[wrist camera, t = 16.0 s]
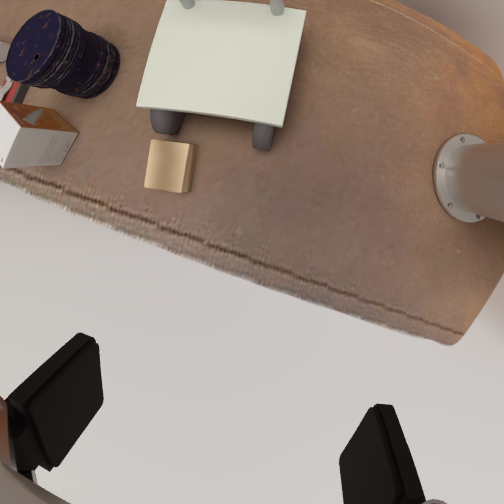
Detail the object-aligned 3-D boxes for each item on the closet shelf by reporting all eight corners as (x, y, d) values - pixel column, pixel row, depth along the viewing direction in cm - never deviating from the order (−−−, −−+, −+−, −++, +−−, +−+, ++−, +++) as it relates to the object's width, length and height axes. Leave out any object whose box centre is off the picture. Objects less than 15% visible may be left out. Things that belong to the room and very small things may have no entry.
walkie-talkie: (21, 54, 36) (-17, 146, 42) (6, 50, 32) (-32, 147, 38) (42, 64, 37) (1, 163, 42) (27, 59, 33) (-15, 165, 38)
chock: (198, 146, 39) (189, 143, 35) (190, 190, 40) (181, 193, 36) (163, 141, 39) (151, 139, 35) (156, 185, 40) (144, 187, 37)
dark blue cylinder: (62, 72, 37) (-1, 53, 22) (105, 30, 35) (48, -4, 20) (84, 112, 38) (16, 99, 24) (131, 68, 36) (71, 35, 22)
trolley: (305, 25, 33) (319, -88, 11) (278, 154, 38) (271, 131, 16) (191, 13, 33) (123, -81, 11) (160, 134, 38) (44, 111, 16)
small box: (80, 132, 39) (21, 126, 27) (60, 166, 41) (2, 170, 28) (53, 107, 39) (-3, 99, 26) (36, 140, 40) (-21, 139, 28)
